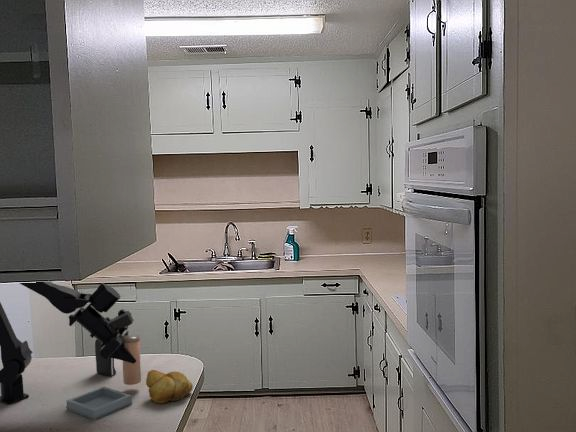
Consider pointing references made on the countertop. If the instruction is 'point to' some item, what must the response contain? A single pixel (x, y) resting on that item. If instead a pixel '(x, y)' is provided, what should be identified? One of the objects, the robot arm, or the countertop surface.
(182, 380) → the bread roll
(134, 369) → the jar
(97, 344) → the battery charger
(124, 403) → the tray
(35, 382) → the countertop surface
